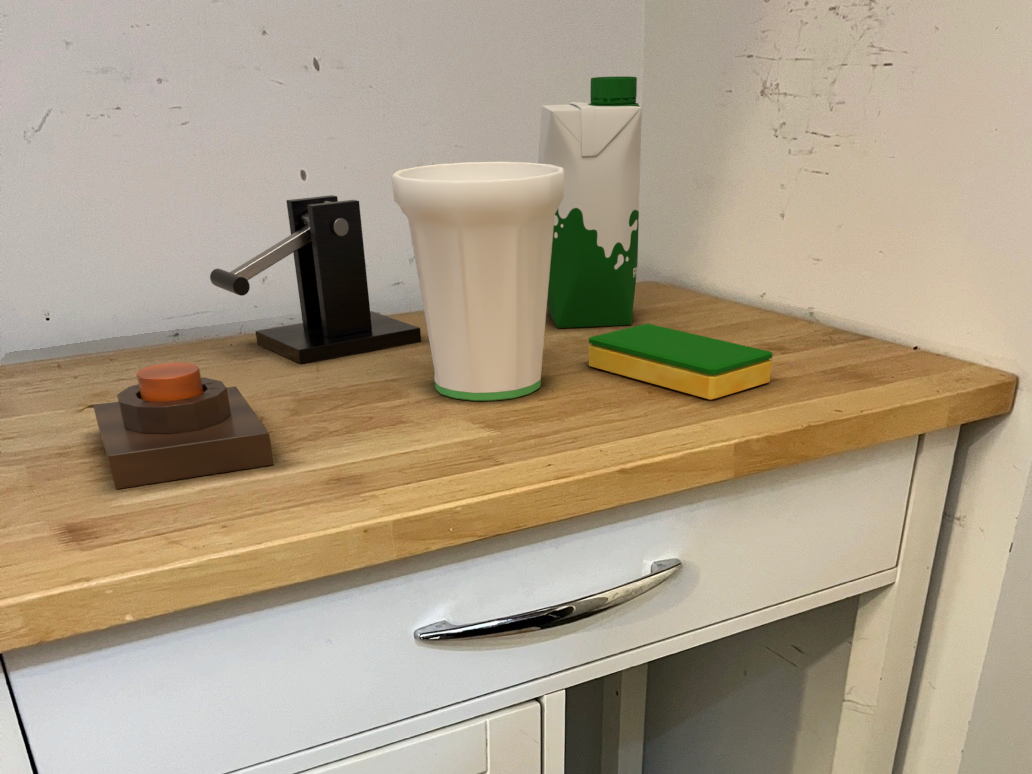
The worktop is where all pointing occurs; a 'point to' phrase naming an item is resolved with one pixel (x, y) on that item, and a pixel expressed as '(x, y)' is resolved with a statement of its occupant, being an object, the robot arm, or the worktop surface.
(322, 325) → the bracket
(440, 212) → the cup
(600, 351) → the dish sponge
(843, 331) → the worktop surface
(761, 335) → the worktop surface
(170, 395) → the button
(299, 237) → the lever
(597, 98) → the milk carton
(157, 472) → the button box
